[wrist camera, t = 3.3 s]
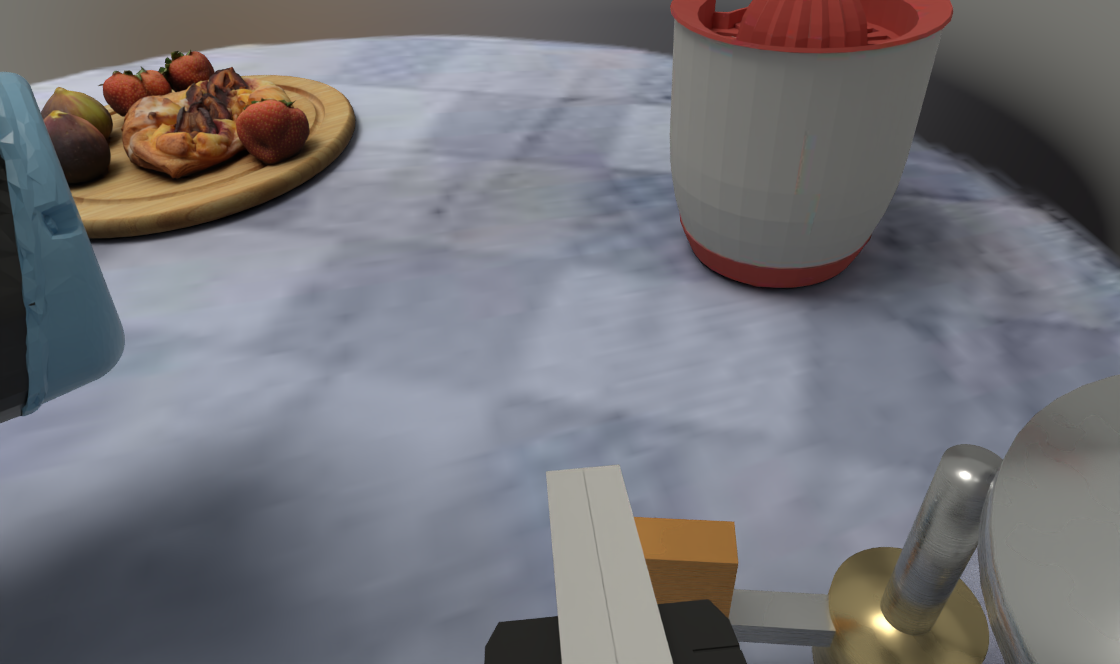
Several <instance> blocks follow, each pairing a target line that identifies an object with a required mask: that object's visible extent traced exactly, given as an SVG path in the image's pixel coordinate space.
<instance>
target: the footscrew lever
mask: <svg viewBox="0 0 1120 664" xmlns="http://www.w3.org/2000/svg"><path fill="white" fill-rule="evenodd" d="M1002 461H1003V460H1002V459H1001V458H1000V457H999V456H998V455H996V454H995V453H993V452H991V451H989V450H987V449H985V448H982V447H979V446H975V445H968V444H961V445H956V446H953V447H950V448H949V449H947V450H946V451H945V453H944V454H943V456H942V459H941V461H940V463H939V466H938V468H937V470H936V473H935V475H934V477H933V480H932V482H931V484H930V487H929V489H928V491H927V494H926V496H925V498H924V501H923V503H922V505H921V508H920V510H919V512H918V514H917V517H916V519H915V521H914V524H913V526H912V528H911V531H910V533H909V535H908V538H907V540H906V542H905V545H904V547H903V549H901V548H893V547H878V548H871V549H867V550H863V551H861V552H858V553H856V554H854V555H853V556H851V557H849V558H848V559H847V560H846V561H844V562H843V563H842V565H841V566H840V567H839V568H838V570H837V572H836V573H835V575H834V578H833V581H832V584H831V587H830V590H829V593H828V595H824V594H807V593H789V592H772V591H754V590H736V589H734V585H735V579H736V574H737V568H738V556H737V545H736V535H735V525H734V522H729V521H708V520H686V519H665V518H643V517H634V521H635V524H636V528H637V532H638V535H639V539H640V543H641V547H642V550H643V554H644V558H645V561H646V565H647V569H648V572H649V576H650V580H651V583H652V587H653V591H654V595H655V598H656V602H657V604H664V603H674V602H684V601H694V600H703V599H709V600H710V601H711V602H712V603H713V604H714V605H715V606H716V607H717V608H718V609H719V610H720V611H721V612H722V613H723V614H724V615H725V616H726V617H727V618H728V619H729V620H730V622H731V625H732V628H733V630H734V633H735V635H736V638H737V640H738V641H739V642H754V643H770V644H785V645H801V646H812V654H813V661H814V664H982V662H983V660H984V659H985V656H986V654H987V651H988V645H989V630H988V624H987V620H986V617H985V614H984V612H983V610H982V607H981V605H980V604H979V602H978V600H977V599H976V597H975V596H974V594H973V593H972V592H971V590H970V589H969V588H968V587H967V586H966V584H965V583H964V582H963V581H962V580H961V579H960V577H961V575H962V573H963V571H964V569H965V568H966V566H967V564H968V562H969V560H970V558H971V556H972V555H973V553H974V551H975V549H976V547H977V545H978V536H979V525H980V516H981V512H982V509H983V505H984V502H985V499H986V495H987V492H988V489H989V487H990V485H991V483H992V481H993V479H994V477H995V475H996V473H997V471H998V469H999V467H1000V465H1001V463H1002Z"/></svg>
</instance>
